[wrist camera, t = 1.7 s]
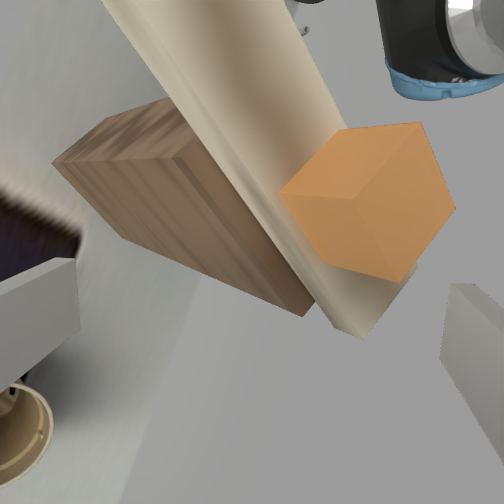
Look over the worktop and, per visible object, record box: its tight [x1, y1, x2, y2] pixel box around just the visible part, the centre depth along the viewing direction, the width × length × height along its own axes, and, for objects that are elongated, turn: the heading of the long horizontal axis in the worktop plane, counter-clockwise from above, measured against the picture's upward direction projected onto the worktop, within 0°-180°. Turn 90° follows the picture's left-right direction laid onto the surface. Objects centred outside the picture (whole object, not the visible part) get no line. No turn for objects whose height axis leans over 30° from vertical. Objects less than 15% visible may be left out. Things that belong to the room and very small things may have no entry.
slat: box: [101, 0, 418, 340], centre depth 18 cm, size 5×21×2 cm, turn 37°
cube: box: [278, 122, 456, 283], centre depth 17 cm, size 4×4×4 cm
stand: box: [51, 97, 315, 317], centre depth 33 cm, size 7×10×30 cm
